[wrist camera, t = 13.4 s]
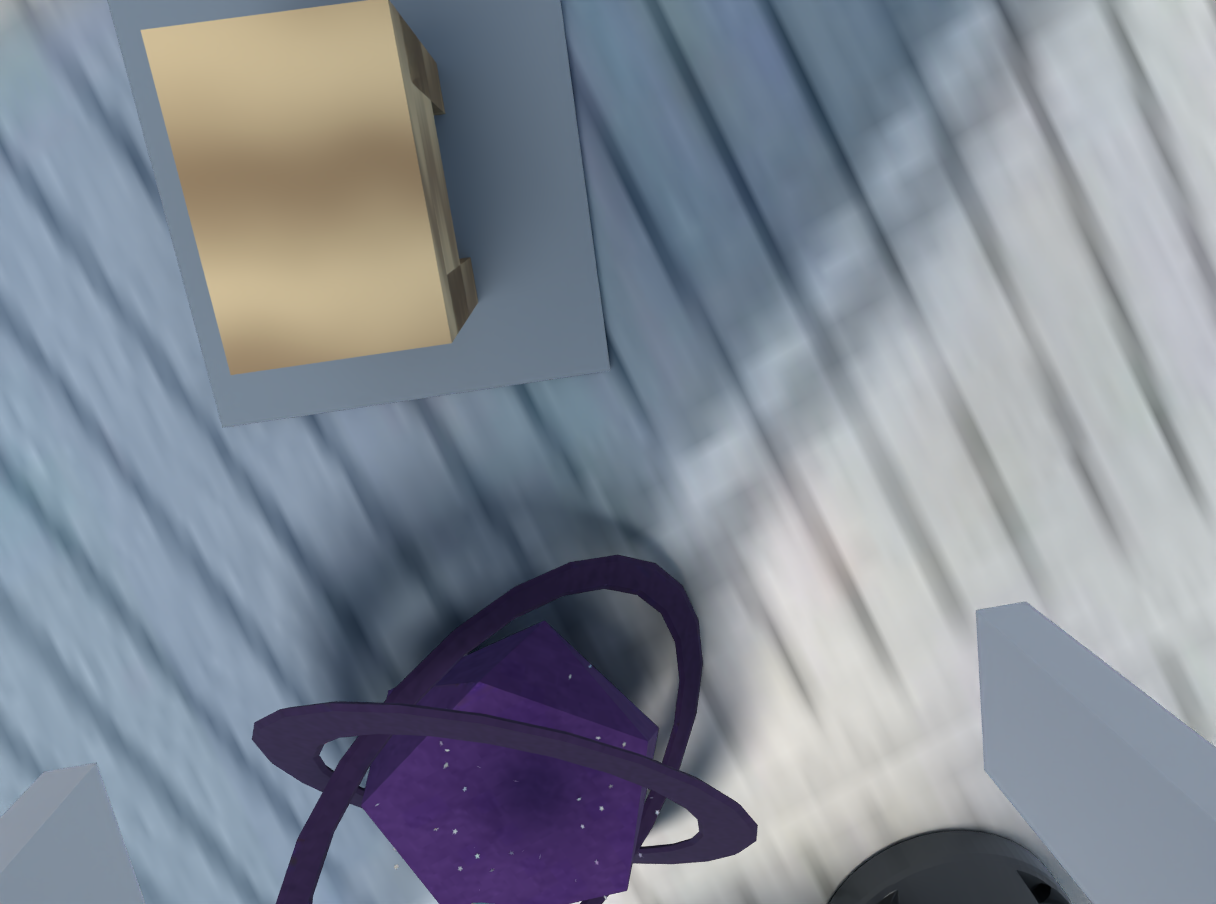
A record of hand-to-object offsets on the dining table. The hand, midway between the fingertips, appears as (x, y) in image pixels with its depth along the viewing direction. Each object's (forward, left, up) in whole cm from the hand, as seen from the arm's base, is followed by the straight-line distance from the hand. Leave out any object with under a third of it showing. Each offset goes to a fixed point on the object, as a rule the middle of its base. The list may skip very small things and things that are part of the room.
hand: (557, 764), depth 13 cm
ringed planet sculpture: (+4, +17, -30) cm, 34 cm away
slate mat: (+6, -9, -29) cm, 31 cm away
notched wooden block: (+6, -9, -29) cm, 31 cm away
